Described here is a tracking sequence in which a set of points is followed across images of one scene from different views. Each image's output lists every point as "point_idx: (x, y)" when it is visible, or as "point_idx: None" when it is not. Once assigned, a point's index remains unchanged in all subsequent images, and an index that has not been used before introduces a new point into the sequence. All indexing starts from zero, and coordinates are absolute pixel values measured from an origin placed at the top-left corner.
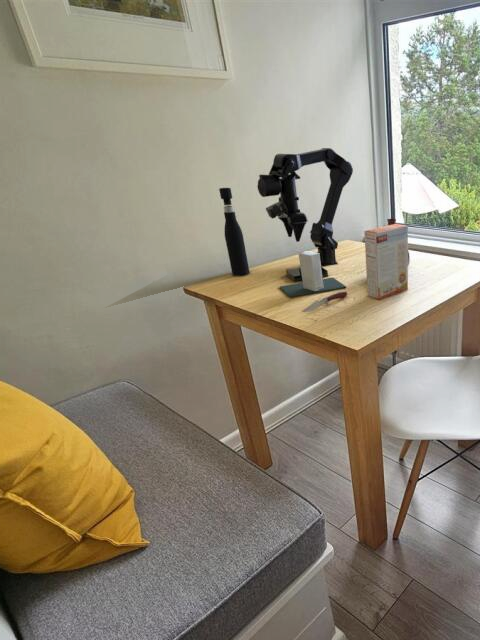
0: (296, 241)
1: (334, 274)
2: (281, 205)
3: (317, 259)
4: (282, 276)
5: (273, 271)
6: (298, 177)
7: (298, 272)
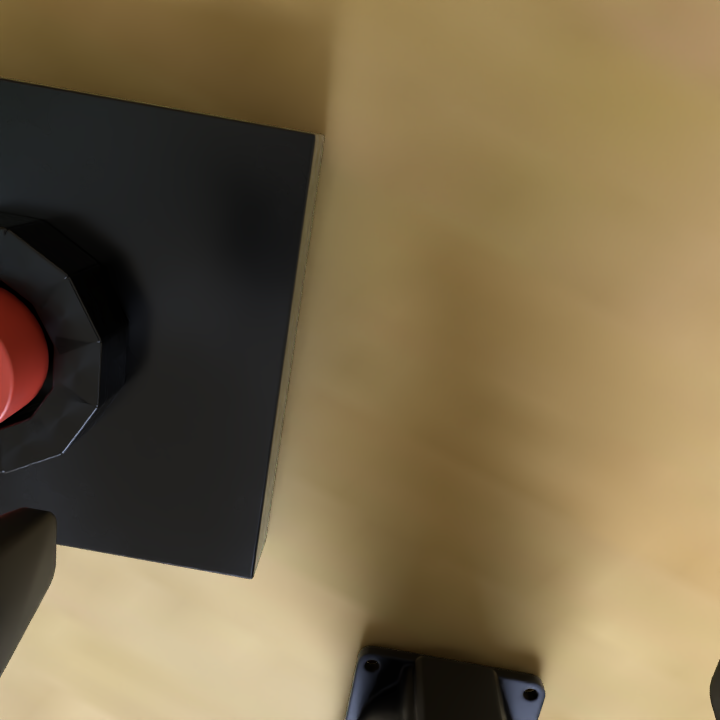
0: (31, 508)
1: None
2: None
3: None
4: (312, 65)
5: (626, 73)
6: None
7: (55, 210)
